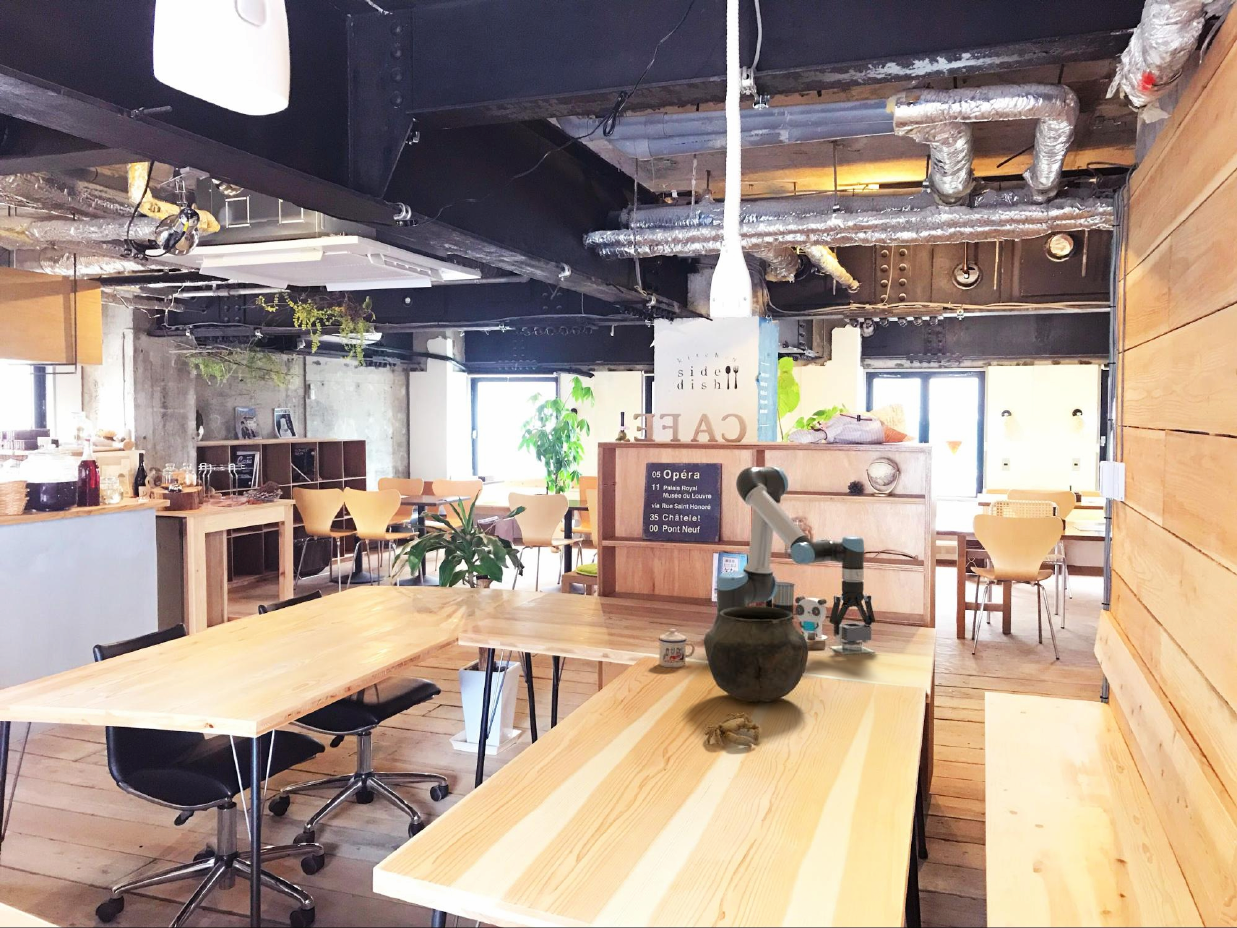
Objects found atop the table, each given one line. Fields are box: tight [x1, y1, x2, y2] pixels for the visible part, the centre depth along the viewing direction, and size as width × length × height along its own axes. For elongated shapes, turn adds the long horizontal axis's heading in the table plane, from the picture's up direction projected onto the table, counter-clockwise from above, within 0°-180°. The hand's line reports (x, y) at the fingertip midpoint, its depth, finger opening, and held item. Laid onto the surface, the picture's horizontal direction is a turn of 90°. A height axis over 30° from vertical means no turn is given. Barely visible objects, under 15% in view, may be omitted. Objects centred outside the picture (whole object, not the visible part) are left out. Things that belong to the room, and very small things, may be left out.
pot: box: [703, 605, 809, 703], centre depth 255 cm, size 29×32×25 cm
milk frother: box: [764, 581, 796, 620], centre depth 379 cm, size 14×16×15 cm
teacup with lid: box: [658, 628, 696, 669], centre depth 296 cm, size 12×9×12 cm
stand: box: [805, 631, 826, 651], centre depth 324 cm, size 7×7×6 cm
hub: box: [828, 639, 876, 655], centre depth 320 cm, size 12×11×8 cm
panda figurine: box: [794, 595, 828, 641], centre depth 342 cm, size 12×11×15 cm
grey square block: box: [833, 621, 872, 641], centre depth 320 cm, size 10×10×4 cm
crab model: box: [704, 712, 762, 749], centre depth 219 cm, size 16×13×6 cm
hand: (852, 642), depth 320 cm, fingers closed on grey square block, 9 cm apart
